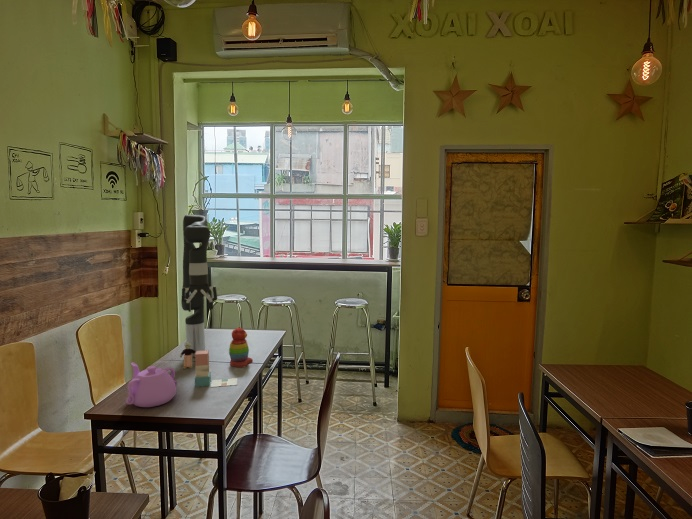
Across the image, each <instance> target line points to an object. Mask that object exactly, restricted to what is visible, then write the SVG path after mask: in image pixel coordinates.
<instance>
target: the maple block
mask: <svg viewBox="0 0 692 519" xmlns="http://www.w3.org/2000/svg"><path fill="white" fill-rule="evenodd" d="M209 372H210V362H209V363H208V365H201V366H196V365H195V375H196V377H207V376H208V375H209Z"/></svg>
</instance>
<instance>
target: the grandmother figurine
mask: <svg viewBox="0 0 692 519" xmlns="http://www.w3.org/2000/svg"><path fill="white" fill-rule="evenodd" d="M191 346H192V344H191V343H190V342H186V341H185V342H184V349H183V350H182V351H181V353H180V355H179V358H183V366H182V369H183V370H184V369H187V368H188V369H192V368H193V357H192V354H191V353H193V354H194V355H195V354H196V351H194V350H193V349H190V347H191ZM183 355H184V356H183Z"/></svg>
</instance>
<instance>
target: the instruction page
mask: <svg viewBox="0 0 692 519" xmlns="http://www.w3.org/2000/svg"><path fill="white" fill-rule="evenodd" d="M238 380H239V379H238V378H237V377H234V378H222V379H211V383H210V388H217V387H219V386H221V387H231V386H230V385H233V386H238ZM219 388H220V387H219Z"/></svg>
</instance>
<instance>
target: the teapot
mask: <svg viewBox="0 0 692 519" xmlns="http://www.w3.org/2000/svg"><path fill="white" fill-rule="evenodd" d="M130 365H131V366H132V378H131V380H130V381H129V382H128V383H127V385H126V386H127V387H126V388H127V392H128V397H126V398H125V403H126V404H127V405H134V406H135V407H139V408H153V407H157V406H161V405H164V404H166V403H168V402H170V401H171V400H172V399H173V398H174V396H175V395H176V393H177V385H178V381H176V380H175V377H176V371H175V368H173V367H169V366H167V367H165V368H160V367H157V366H156V365H151V366H148V367H147V366H146V369H144V370H142V371H140V368H139V365H138V364H137V363H135V362H134V361H133V362H131V363H130ZM168 371H170V373H169V372H168Z"/></svg>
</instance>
